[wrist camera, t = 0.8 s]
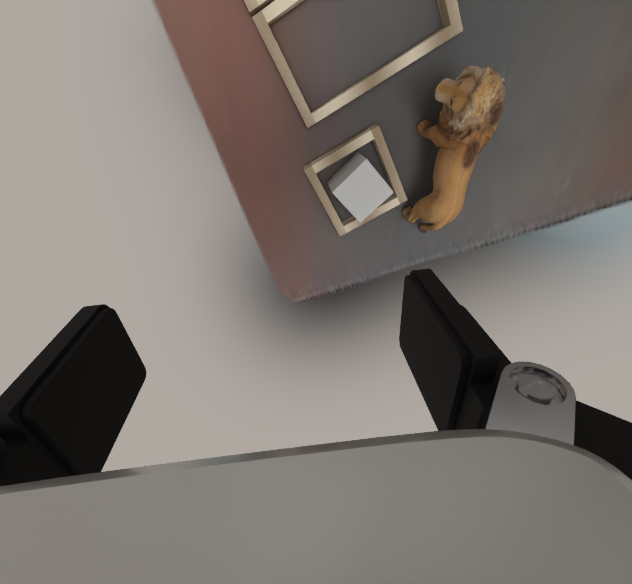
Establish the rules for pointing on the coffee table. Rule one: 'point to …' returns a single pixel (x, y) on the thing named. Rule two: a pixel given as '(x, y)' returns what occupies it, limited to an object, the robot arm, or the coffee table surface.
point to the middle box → (451, 27)
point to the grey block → (359, 187)
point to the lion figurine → (458, 141)
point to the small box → (340, 152)
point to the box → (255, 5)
